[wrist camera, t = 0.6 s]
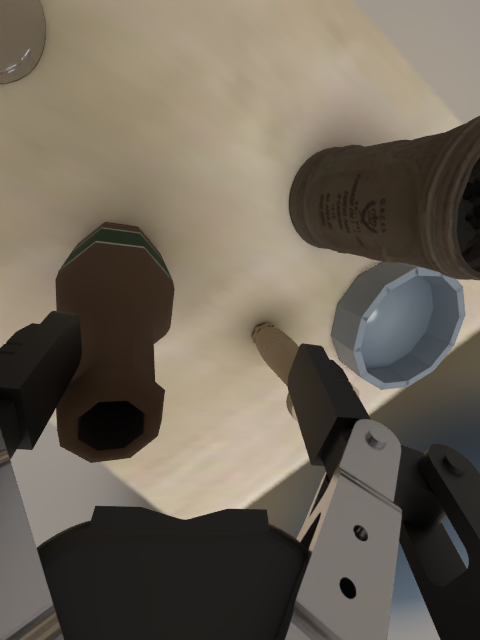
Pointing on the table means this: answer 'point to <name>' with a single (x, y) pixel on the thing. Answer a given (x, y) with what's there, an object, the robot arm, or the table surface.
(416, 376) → the bowl
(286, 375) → the handle
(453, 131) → the beer stein
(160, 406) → the beer bottle
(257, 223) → the table surface
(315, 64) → the table surface
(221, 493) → the table surface
